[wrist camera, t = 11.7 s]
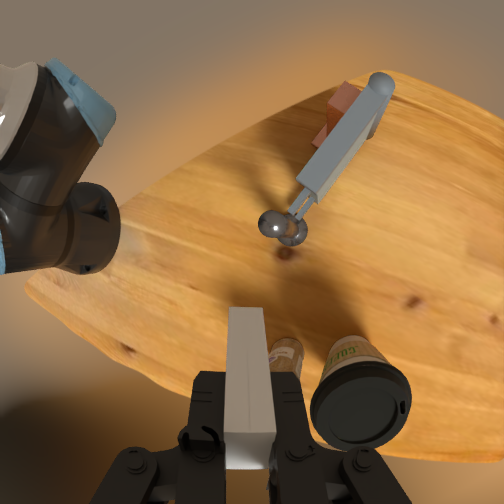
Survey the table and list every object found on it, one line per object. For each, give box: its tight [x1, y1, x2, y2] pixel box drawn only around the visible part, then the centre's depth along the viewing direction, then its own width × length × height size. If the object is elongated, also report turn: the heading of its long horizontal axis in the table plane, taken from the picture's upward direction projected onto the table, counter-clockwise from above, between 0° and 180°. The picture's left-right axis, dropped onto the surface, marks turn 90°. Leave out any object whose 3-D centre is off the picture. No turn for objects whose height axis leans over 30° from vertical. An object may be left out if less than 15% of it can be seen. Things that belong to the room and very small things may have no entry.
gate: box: [287, 72, 395, 221], centre depth 29 cm, size 16×2×14 cm, turn 143°
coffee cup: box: [310, 335, 412, 451], centre depth 29 cm, size 10×10×15 cm
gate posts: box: [258, 81, 362, 246], centre depth 29 cm, size 18×7×16 cm, turn 143°
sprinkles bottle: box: [268, 338, 304, 380], centre depth 32 cm, size 5×5×14 cm
